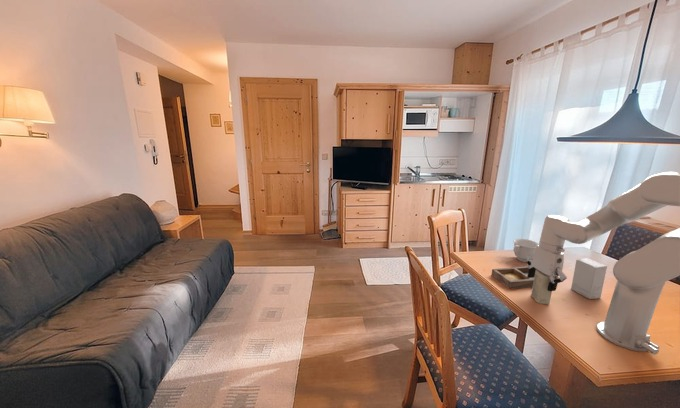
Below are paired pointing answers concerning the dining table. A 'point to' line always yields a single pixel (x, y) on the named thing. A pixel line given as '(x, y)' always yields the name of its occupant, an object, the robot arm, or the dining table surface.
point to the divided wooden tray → (514, 277)
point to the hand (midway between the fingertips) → (540, 283)
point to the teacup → (524, 248)
